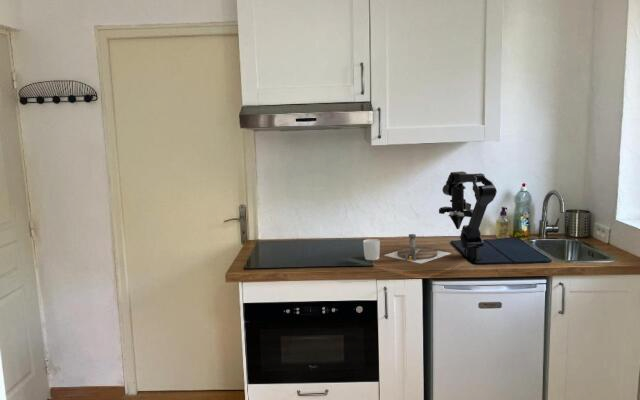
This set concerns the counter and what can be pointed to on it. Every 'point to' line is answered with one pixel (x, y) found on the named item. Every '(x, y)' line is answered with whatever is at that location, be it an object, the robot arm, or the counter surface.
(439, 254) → the base
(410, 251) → the dial
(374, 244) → the white cup
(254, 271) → the counter surface
